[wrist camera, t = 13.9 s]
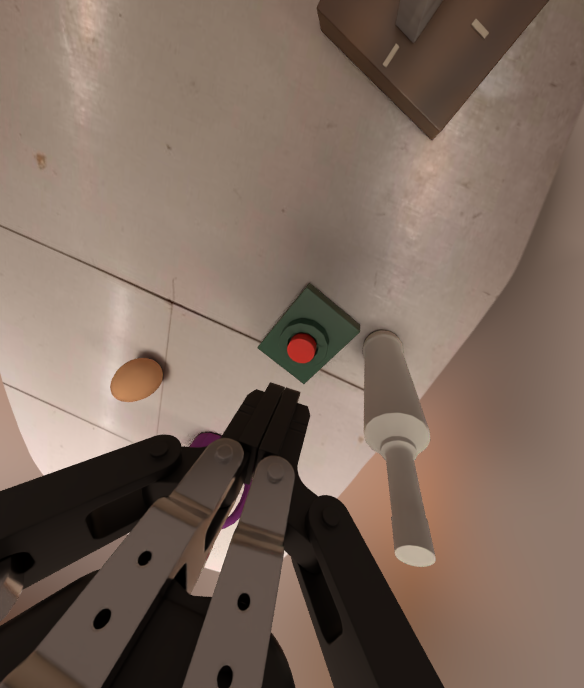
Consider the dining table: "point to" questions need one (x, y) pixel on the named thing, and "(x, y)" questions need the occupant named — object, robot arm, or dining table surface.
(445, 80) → the panel
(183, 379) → the dining table surface
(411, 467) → the bottle
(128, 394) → the egg
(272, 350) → the switch
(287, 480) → the robot arm
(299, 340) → the red push button
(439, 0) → the tap handle
